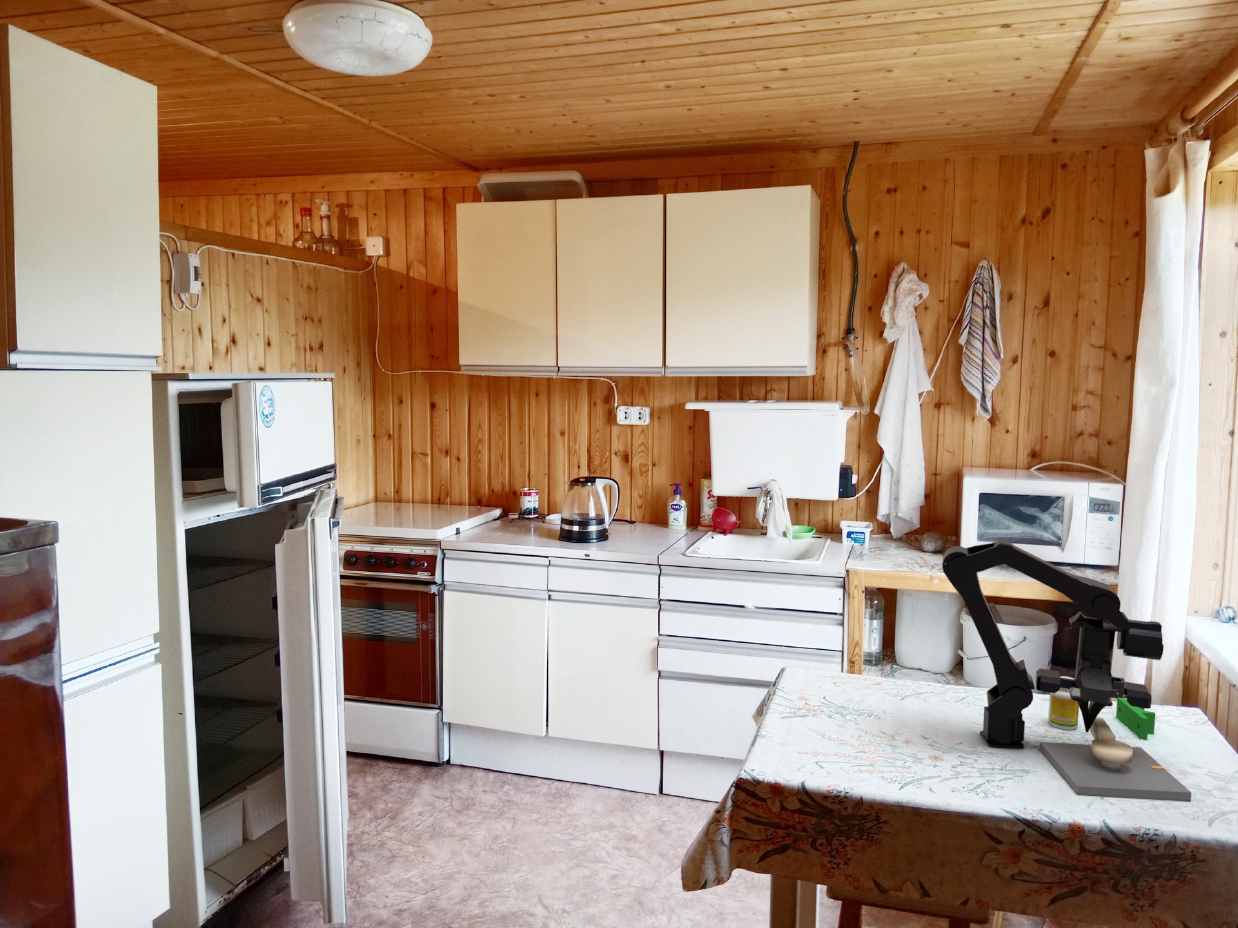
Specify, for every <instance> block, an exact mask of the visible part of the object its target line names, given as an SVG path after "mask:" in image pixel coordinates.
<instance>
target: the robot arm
mask: <svg viewBox="0 0 1238 928" xmlns="http://www.w3.org/2000/svg"><path fill="white" fill-rule="evenodd" d="M1002 565H1006V566H1008V567H1009V568H1012V569H1013V570H1016V571H1017V572H1020V573H1021V574H1023V575H1025V576H1028V577H1029V578H1031V579H1034V580H1035V581H1037V582H1039V583H1041V584H1043V585H1045V586H1047V587H1048V588H1051V589H1053V590H1055V591H1057V592H1059V593H1061V594H1062V595H1064V596H1065V597H1067V598H1068V599H1069V600H1071V601H1072V602H1073V603H1074V604H1075V605H1077V606H1078V607H1079V608H1080V609H1082V610H1083V611H1085V612H1086V613H1087V614H1089V615H1090V616H1091V617H1089V616H1085V615H1084V614H1083V613H1082V612H1081V611H1077V614H1075V615H1073V616H1071V617H1070V618H1069V620H1068V621H1069V623H1070V625H1071V626H1072V627H1076V628H1079V637H1078V647H1077V654H1076V655H1077V656H1076V667H1075V676H1074V678H1073V679H1069V678H1062V677H1060V676H1061V674H1060V671H1059V670H1052V669H1046V668H1038V669H1037V670H1036V672H1035V684H1034V681H1033V680H1034V679H1033V676H1032V675H1030V674H1029V672H1028V670H1027V667H1026V663H1025V660H1024V659H1021V660H1018V661H1017V660H1016V659H1015V658H1014V657H1013V656H1012V654H1011V652H1010V650H1009V648H1008V646H1007V643H1006V641H1005V639H1004V637H1003V634H1002V632H1001V630H1000V628H999V625H998V623H997V621H996V619H995V617H994V615H993V612H992V610H991V608H990V606H989V603H988V601H987V599H986V598H985V595H984V592H983V590H982V588H981V584H980V580H979V579H980V578H979V575H978V573H980V572H984V571H987V570H989V569H992V568H995V567H998V566H1002ZM941 569H942V571H943V573H944V575H945V577H946V578H947V579H948V581H949V583H950V584H951V586H952V587H953V588H954V589H955V590H956V592H957V593H958V594H959V595H960V596H961V598H962V600H963V602H964V604H965V606H966V609H967V610H968V613H969V615H970V617H971V620H972V621H973V624H974V626H975V628H976V630H977V633H978V635H979V638H980V639H981V642H982V644H983V646H984V648H985V650H986V652H987V655H988V657H989V659H990V661H991V664H992V666H993V667H992V668H993V671H994V676H995V680H996V684H995V685H994V686H992V687H990V688H989V689H988V690H987V691H986V698H987V706H985V705H984V706H983V722H982V723H983V725H982V730H980V731H979V734H980V736H981V738H983V740H984V741H985V743H986V745H988V747H991V748H992V747H994V748H1009V749H1010V748H1012V749H1013V748H1014V749H1024V748H1025V745H1024V741H1025V728H1026V726H1025V725H1026V721H1025V720H1024V719H1023V716H1024V715H1023V713H1022V712H1023V710H1025V709H1027V708H1029V706H1031V705H1032V703H1033V700H1034V693H1033V690H1036V691H1039V692H1044V693H1049V694H1050V693H1056V692H1058V691H1059V690H1060V688H1066V689H1069V693H1070V698H1071V700H1074V701H1077V703H1078V705H1079V711H1080V713H1081V717H1082V721H1083V725H1084V731H1085V733H1089V731H1090V728H1091V726H1092V724H1093V723H1094V721H1095V719H1096V717H1097V716H1099V714H1100V713H1101V711H1102V710H1103V709H1105V708H1106V707H1113V701H1112V699H1116V700H1117V699H1118V698H1124V699H1125V700H1126V701H1127V702H1128V703H1129V704H1130V705H1131V706H1134V707H1140V708H1145V709H1147V710H1148V709H1149V710H1150V709H1151V708H1152V701H1153V699H1152V694H1151V692H1150V689H1149V688H1148V686H1147V685H1145V684H1142V683H1136V682H1131V681H1130V682H1128V681H1125V678H1123V677H1117V676H1113V675H1112V668H1113V667H1112V665H1113V657H1114V647H1115V638H1116V648H1117V650H1122V653H1123V656H1124V657H1132V658H1140V659H1146V660H1153V661H1160V660H1161V659H1162V658H1163V654H1164V647H1165V645H1164V643H1163V633H1162V628H1163V626H1162V624H1161V622H1159V621H1154V620H1153V621H1152V620H1151V621H1150V620H1149V621H1144V620H1136V619H1128V616H1127V615H1126V614H1125V612H1123V611H1121V610H1120V609H1121V600H1120V598H1119V596H1118V594H1117V593H1116V592H1115V590H1114V589H1113V588H1112V587H1111V586H1110V585H1109V584H1107V583H1105V582H1102V581H1099V580H1095V579H1093V578H1089V577H1086V576H1081V575H1076V574H1074V573H1071V572H1069V571H1066V570H1064V569H1062V568H1060V567H1059V566H1056V565H1054V564H1053V563H1050V562H1048V561H1046V560H1044V559H1042V558H1040V557H1038V556H1036V555H1034V554H1033V553H1031V552H1028V551H1027V550H1024V549H1022V548H1021V547H1018V546H1016V545H1015V544H1013V543H1012V542H1011V541H1009V540H1006V539H1000V540H997V541H995V542H990V543H989V542H988V543H984V544H977V545H972V546H970V547H969V546H968V547H964V546H960V545H956V546H951V547H949V548H948V549H946V550H945V552H944V554H943V556H942V568H941ZM1105 620H1106V621H1107V622H1108V623H1106V622H1103V621H1105ZM1116 633H1117V634H1116Z"/></svg>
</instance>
